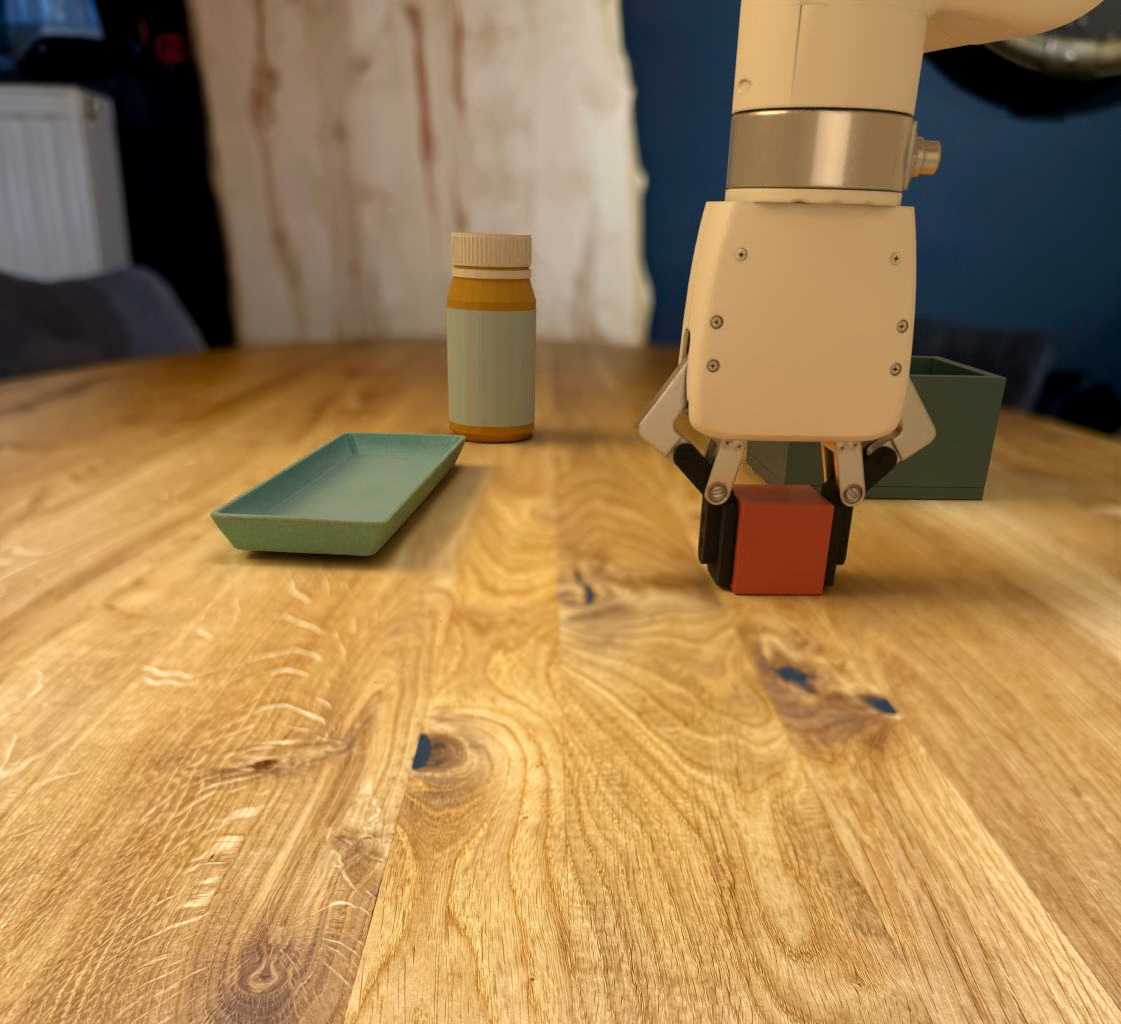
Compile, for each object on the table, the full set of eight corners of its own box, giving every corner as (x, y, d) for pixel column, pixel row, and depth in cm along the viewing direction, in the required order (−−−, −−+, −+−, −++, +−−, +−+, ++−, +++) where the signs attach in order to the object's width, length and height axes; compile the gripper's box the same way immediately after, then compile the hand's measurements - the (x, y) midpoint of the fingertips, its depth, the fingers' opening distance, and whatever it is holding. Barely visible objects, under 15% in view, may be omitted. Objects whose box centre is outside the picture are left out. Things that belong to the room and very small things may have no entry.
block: (799, 568, 56) (810, 484, 54) (822, 595, 52) (835, 505, 50) (716, 568, 56) (724, 483, 54) (733, 594, 52) (743, 504, 50)
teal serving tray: (344, 459, 78) (342, 424, 77) (468, 464, 78) (467, 429, 77) (210, 561, 55) (204, 513, 54) (387, 569, 54) (384, 521, 53)
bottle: (514, 446, 84) (516, 235, 78) (434, 438, 86) (429, 232, 80) (546, 432, 90) (550, 234, 83) (470, 425, 92) (468, 231, 85)
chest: (920, 463, 82) (939, 356, 78) (982, 499, 72) (1007, 377, 68) (745, 461, 81) (756, 352, 78) (782, 497, 71) (796, 373, 67)
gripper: (971, 176, 50) (905, 558, 58) (611, 165, 49) (595, 555, 57) (1046, 170, 43) (959, 603, 51) (630, 157, 42) (609, 601, 50)
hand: (768, 574), depth 54 cm, fingers closed on block, 4 cm apart
